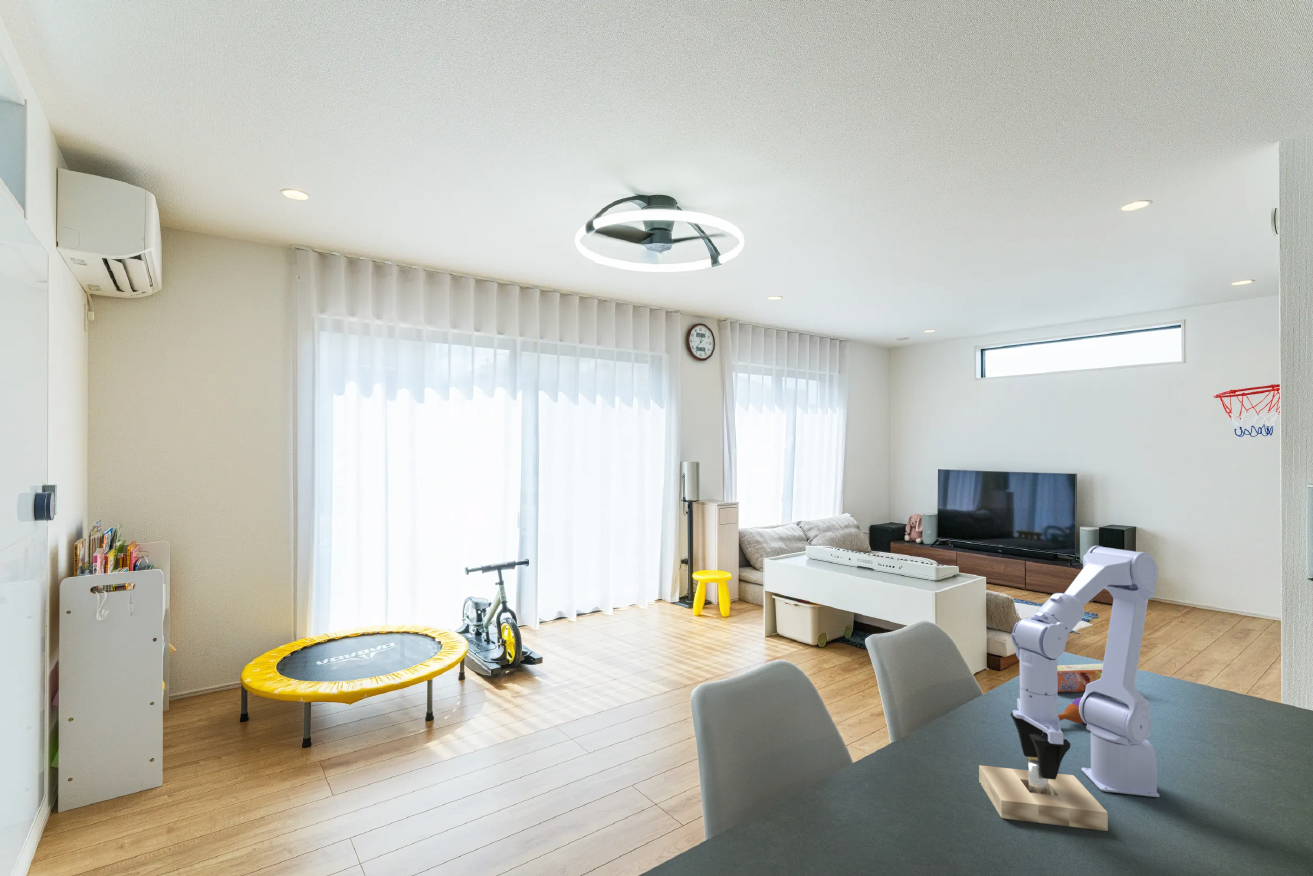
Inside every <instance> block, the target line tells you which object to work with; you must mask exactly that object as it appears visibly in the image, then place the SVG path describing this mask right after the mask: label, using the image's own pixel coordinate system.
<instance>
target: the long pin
mask: <svg viewBox="0 0 1313 876" xmlns="http://www.w3.org/2000/svg"><path fill="white" fill-rule="evenodd" d="M1027 768H1028V769H1027V770H1028V791H1029V792H1030V793H1037V794H1046V795H1048V779H1044V778H1042V777H1041V774H1040V771H1039V765H1038V761H1037V760H1030V761H1028V765H1027Z"/></svg>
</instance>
